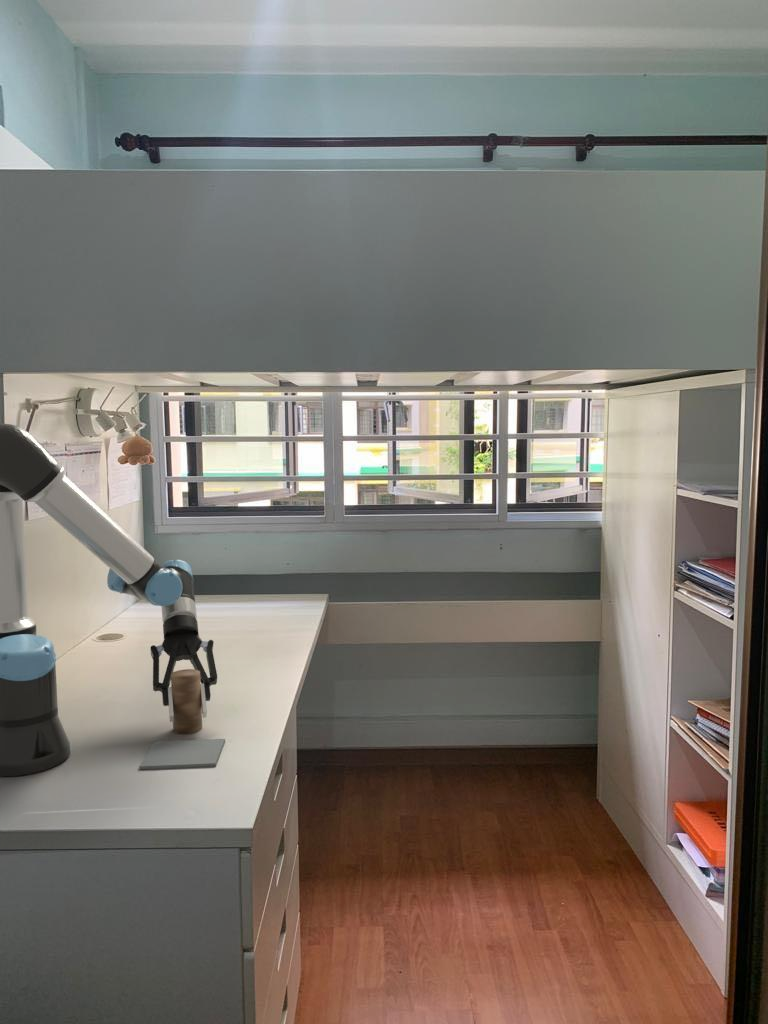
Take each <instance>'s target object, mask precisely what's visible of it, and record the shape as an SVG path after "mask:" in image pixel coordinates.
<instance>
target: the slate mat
mask: <svg viewBox="0 0 768 1024" xmlns="http://www.w3.org/2000/svg"><path fill="white" fill-rule="evenodd" d="M225 743H226V738H210V739H207V738H206V739H186V740H184V739H183V740H181V739H178V740H157V741H156V740H155V741H154V742H153V744H152V745H151V747H150V749H149V750H148V752H147V754H146V755H145V757H144V758H143V760H142V761H141V762H140V765H139V770H159V769H182V768H183V769H185V768H186V769H187V768H207V767H208V768H209V767H217V764H218V763H219V762H218V761H219V759H220V756H221V754H222V750H223V748H224V746H225Z"/></svg>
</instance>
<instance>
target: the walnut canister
mask: <svg viewBox="0 0 768 1024" xmlns="http://www.w3.org/2000/svg"><path fill="white" fill-rule="evenodd" d="M201 684H202V683H201V681H200V671H198V670H195V669H194V668H191V669H180V670H176V671H173V673H172V674H171V681H170V687H171V688H172V699H173V713H174V721H173V722H172V729H173V730H172V731H173V732H174V733H175V734H177V735H188V734H195V733H198V732H199V731H201V730H202V729H203V715H202V705H201Z"/></svg>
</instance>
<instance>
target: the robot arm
mask: <svg viewBox="0 0 768 1024" xmlns="http://www.w3.org/2000/svg"><path fill="white" fill-rule="evenodd" d="M64 472H65V471H64V465H62V464H61V462H59V461H58V460H57V459H56V458H55V457H54V456H53V455H52V454H51V453H50V452H49V450H47V449H46V448H45V447H44V445H42V444H41V443H40V442H39V441H38V440H37V439H36V437H34V435H32V434H31V433H29V432H28V431H27V430H26V429H24V428H22V427H20V426H18V425H15V424H11V423H0V777H19V776H26V775H30V774H36V773H40V772H43V771H46V770H49V769H51V768H54V767H57V766H58V765H60V764H62V763H63V762H65V761H66V760H67V759H68V758H69V757H70V755H71V749H70V748H71V746H70V745H71V744H70V743H71V742H70V740H69V738H68V736H67V733H66V731H65V729H64V727H63V724H62V722H61V719H60V717H59V708H58V707H59V706H58V705H59V703H58V688H57V686H58V685H57V670H56V667H57V666H56V661H57V654H56V652H55V647H54V644H53V642H52V640H50V639H49V638H47V637H46V636H43V635H37V623H36V621H35V620H34V619H33V618H32V617H31V616H30V615H28V596H27V575H26V574H27V573H26V551H25V529H24V513H23V512H24V509H23V508H24V507H23V506H24V505H23V501H24V502H26V503H30V502H31V503H35V504H36V505H37V506H38V507H39V508H40V509H42V511H44V513H46V514H47V515H49V516H50V518H52V519H53V521H56V523H57V524H59V526H61V527H62V528H63V529H65V530H66V532H68V533H69V534H70V535H71V536H72V537H74V539H76V540H77V541H78V542H79V543H81V544H82V546H84V547H85V548H86V549H87V550H88V551H90V552H91V553H92V554H93V555H94V556H96V558H98V559H99V560H100V561H101V562H102V563H103V564H105V566H107V567H108V568H109V570H108V573H107V578H106V579H107V580H106V581H107V582H106V583H107V587H108V589H109V590H110V591H112V592H115V593H119V594H126V595H128V596H129V595H130V596H133V597H135V598H137V599H140V600H143V601H145V602H148V603H150V604H151V605H153V606H156V607H158V606H159V607H161V616H162V630H163V641H162V643H161V644H160V645H153V644H152V645H151V646H150V655H151V658H152V691H154V692H161V696H162V705H163V707H167V706H168V712H169V713H168V714H169V717H168V718H169V722H170V723H171V722H172V723H173V721H174V713H173V699H172V688H171V674H172V673H173V672H174V670H175V667H176V664H177V662H180V661H183V660H184V661H189V662H190V664H191V665H192V667H193V669H194V670H198V671H200V681H201V706H202V719H203V718H207V714H208V713H207V712H208V709H207V702H210V701H211V688H210V687H211V686H215V685H216V684H217V682H218V673H217V672H218V671H217V669H216V662H215V657H214V656H215V655H214V652H213V651H214V640H212V639H209V640H208V641H204V640H202V638H201V637H200V634H199V625H198V615H197V607H196V598H195V585H194V583H195V581H194V577H193V576H194V575H193V573H192V572H193V570H192V568H191V566H190V564H189V563H188V562H186V561H184V560H182V559H175V560H173V559H172V560H171V559H170V560H167V561H165V562H163V563H162V564H161V563H160V562H159V561H158V560H157V559H156V558H155V557H153V556H152V555H151V554H150V553H149V552H148V551H147V550H146V549H145V548H144V547H143V546H142V545H141V544H140V543H138V541H136V540H135V539H134V537H132V536H131V535H130V534H129V533H128V532H126V530H125V529H124V528H122V527H121V526H120V525H119V524H118V523H117V522H116V521H115V520H114V519H113V518H112V517H111V516H109V514H107V513H106V512H105V510H103V509H102V508H101V507H99V505H98V504H97V503H95V502H94V501H93V500H92V499H91V498H90V497H89V496H88V495H87V494H86V493H84V491H82V490H81V489H80V488H79V487H78V485H76V484H75V483H74V482H73V480H70V478H69V477H68V476H67V475H66V474H65V473H64ZM200 648H202V650H203V652H204V653H205V654H206V661H207V669H208V673H209V676H208V675H207V672H206V671H205V669H204V666H203V665H202V662H201V660H200V659H199V655H198V651H199V650H200ZM163 651H164V653H166V655H167V656H168V657H169V659H168V662H167V666H166V669H165V674H164V676H163V680H162V682H160V657H161V656H162V654H163V653H162V652H163Z"/></svg>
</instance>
